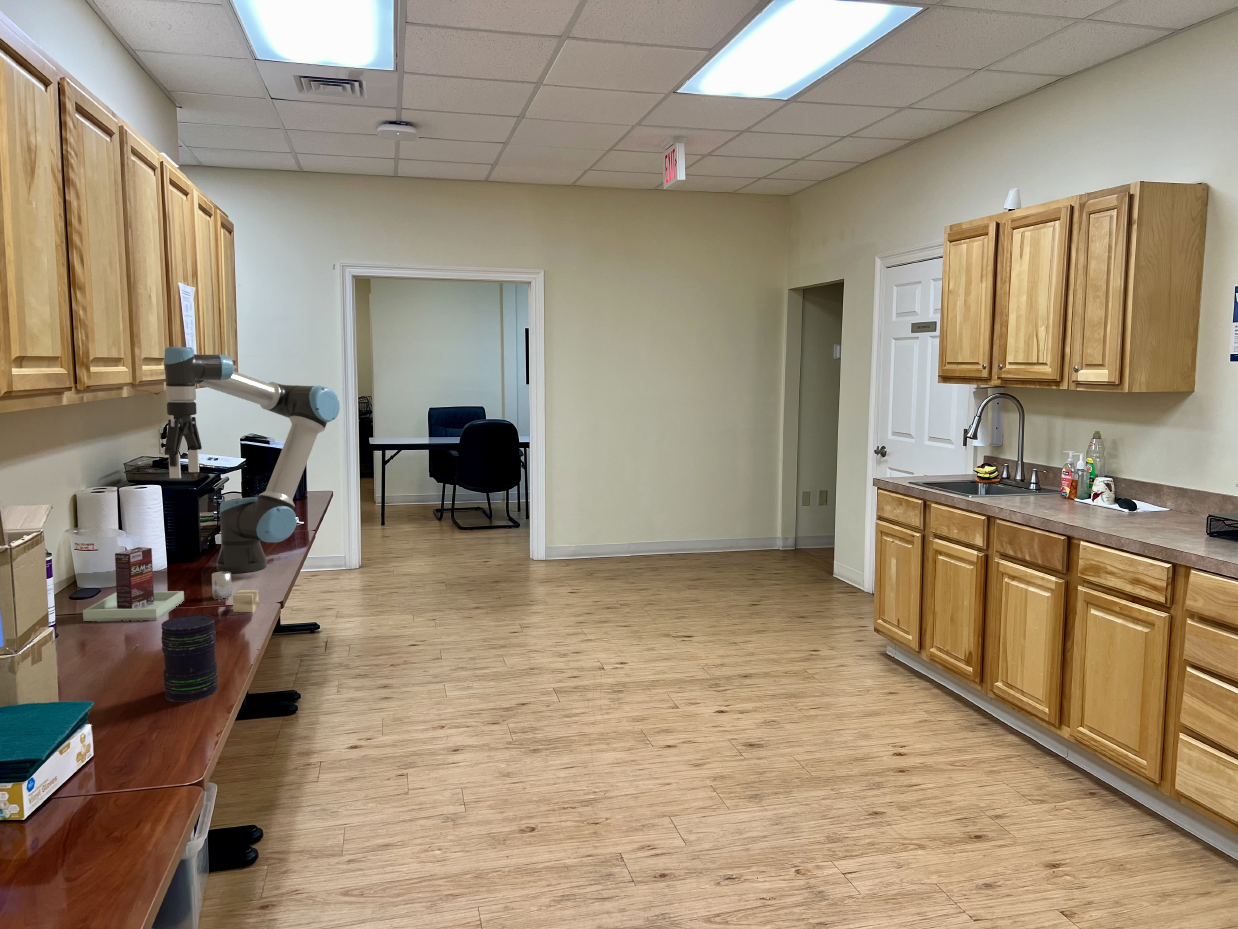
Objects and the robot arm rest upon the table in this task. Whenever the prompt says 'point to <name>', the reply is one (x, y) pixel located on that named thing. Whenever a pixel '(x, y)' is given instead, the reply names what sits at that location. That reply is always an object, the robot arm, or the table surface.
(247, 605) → the maple block
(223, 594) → the metal cylinder
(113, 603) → the sage tray
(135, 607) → the supplement box
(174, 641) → the storage jar
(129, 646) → the table surface
